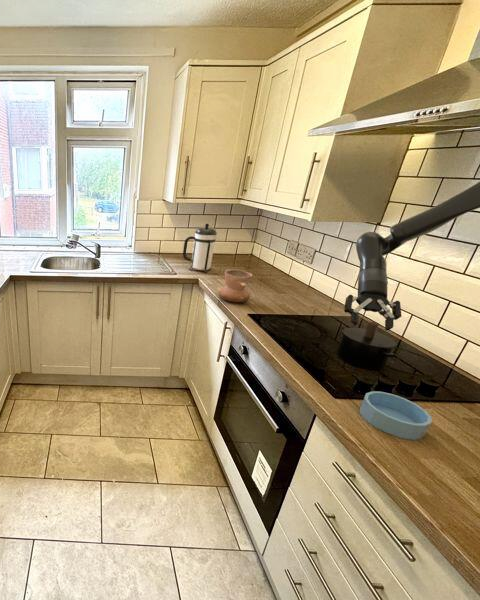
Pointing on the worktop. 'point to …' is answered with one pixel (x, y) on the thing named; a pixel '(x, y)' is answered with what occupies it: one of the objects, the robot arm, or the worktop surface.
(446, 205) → the robot arm
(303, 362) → the worktop surface
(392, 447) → the worktop surface
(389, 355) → the pot
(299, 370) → the worktop surface
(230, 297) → the ceramic jug
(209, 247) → the coffee press
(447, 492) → the worktop surface
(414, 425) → the blue round dish
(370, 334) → the lid
